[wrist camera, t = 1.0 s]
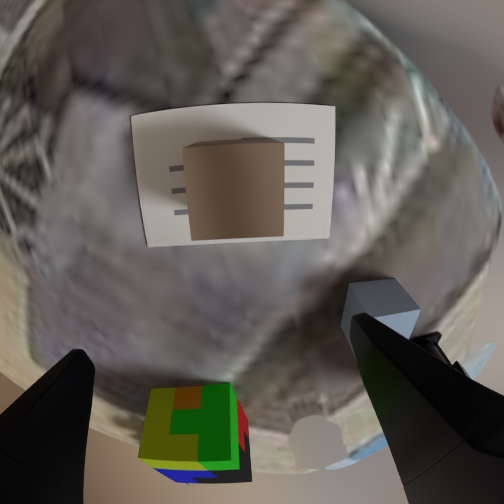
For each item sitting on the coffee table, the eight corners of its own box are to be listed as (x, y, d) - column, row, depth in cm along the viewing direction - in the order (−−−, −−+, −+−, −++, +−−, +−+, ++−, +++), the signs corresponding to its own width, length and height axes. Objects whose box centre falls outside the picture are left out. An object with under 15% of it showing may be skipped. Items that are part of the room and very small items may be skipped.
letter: (334, 106, 16) (335, 106, 16) (328, 237, 21) (329, 238, 20) (132, 116, 16) (131, 116, 15) (148, 246, 20) (148, 247, 20)
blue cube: (394, 277, 23) (421, 309, 19) (382, 318, 25) (403, 351, 21) (348, 282, 23) (370, 318, 18) (340, 324, 25) (356, 361, 21)
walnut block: (271, 138, 17) (284, 143, 12) (271, 208, 19) (283, 236, 15) (196, 142, 17) (182, 148, 12) (201, 212, 19) (191, 240, 14)
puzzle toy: (181, 424, 33) (176, 482, 24) (151, 388, 28) (137, 458, 19) (247, 419, 33) (252, 481, 24) (229, 381, 28) (231, 460, 19)
